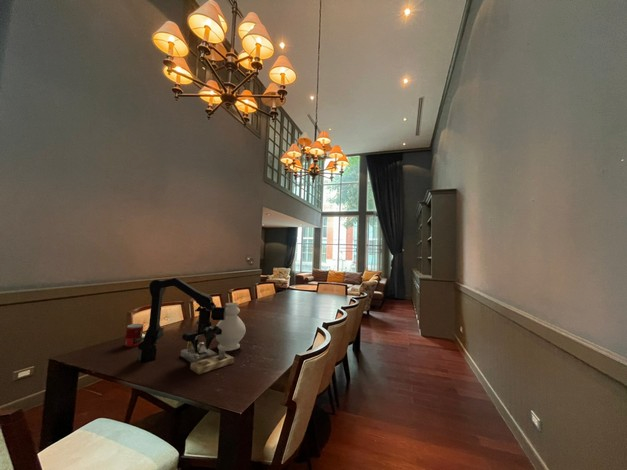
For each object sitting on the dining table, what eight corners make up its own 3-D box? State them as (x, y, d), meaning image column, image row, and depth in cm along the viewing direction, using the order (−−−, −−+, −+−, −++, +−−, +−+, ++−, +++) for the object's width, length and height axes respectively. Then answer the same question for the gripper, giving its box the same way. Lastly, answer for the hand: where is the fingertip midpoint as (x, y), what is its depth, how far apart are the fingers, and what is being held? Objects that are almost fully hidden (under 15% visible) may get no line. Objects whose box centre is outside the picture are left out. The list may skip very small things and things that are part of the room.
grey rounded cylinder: (199, 360, 127) (200, 344, 128) (196, 358, 129) (198, 342, 130) (205, 358, 129) (206, 343, 130) (202, 357, 131) (203, 341, 132)
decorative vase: (248, 343, 156) (251, 302, 158) (237, 353, 138) (240, 307, 141) (221, 340, 158) (224, 300, 160) (206, 350, 140) (210, 305, 143)
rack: (198, 374, 112) (200, 360, 113) (190, 368, 117) (191, 355, 118) (233, 362, 126) (234, 350, 127) (224, 358, 131) (225, 346, 132)
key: (194, 351, 130) (195, 343, 130) (187, 347, 135) (187, 340, 135) (202, 349, 133) (203, 341, 133) (195, 345, 138) (195, 338, 138)
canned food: (135, 347, 140) (137, 327, 141) (121, 346, 140) (123, 326, 141) (144, 343, 147) (146, 324, 148) (131, 342, 147) (133, 323, 148)
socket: (195, 365, 121) (196, 355, 122) (180, 356, 131) (181, 346, 132) (216, 359, 130) (217, 349, 130) (200, 350, 140) (201, 341, 140)
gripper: (194, 326, 119) (191, 360, 117) (228, 320, 133) (226, 350, 132) (183, 321, 126) (180, 354, 124) (217, 316, 140) (215, 345, 139)
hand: (201, 350), depth 129 cm, fingers open, 6 cm apart
